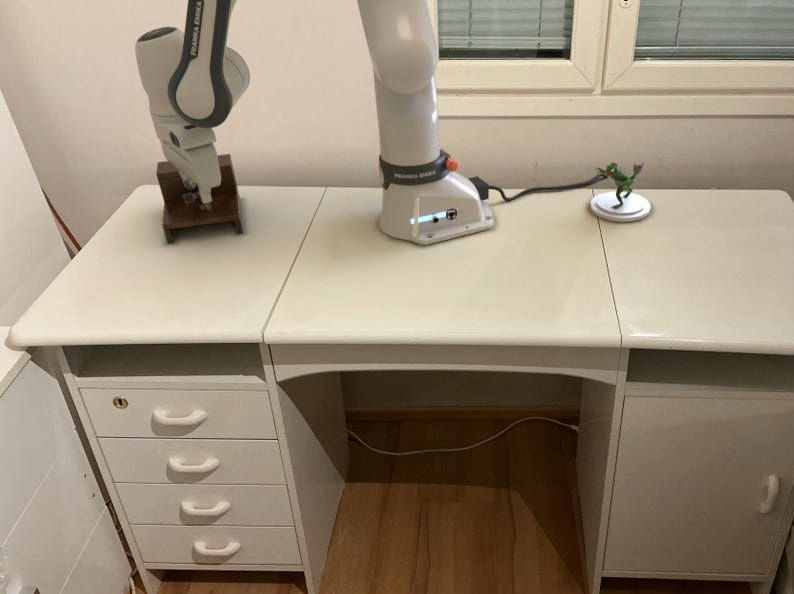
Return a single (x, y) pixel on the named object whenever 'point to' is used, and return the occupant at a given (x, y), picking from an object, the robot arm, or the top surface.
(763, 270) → the top surface
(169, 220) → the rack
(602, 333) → the top surface
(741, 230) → the top surface
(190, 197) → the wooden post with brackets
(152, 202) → the top surface
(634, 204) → the frog figurine
